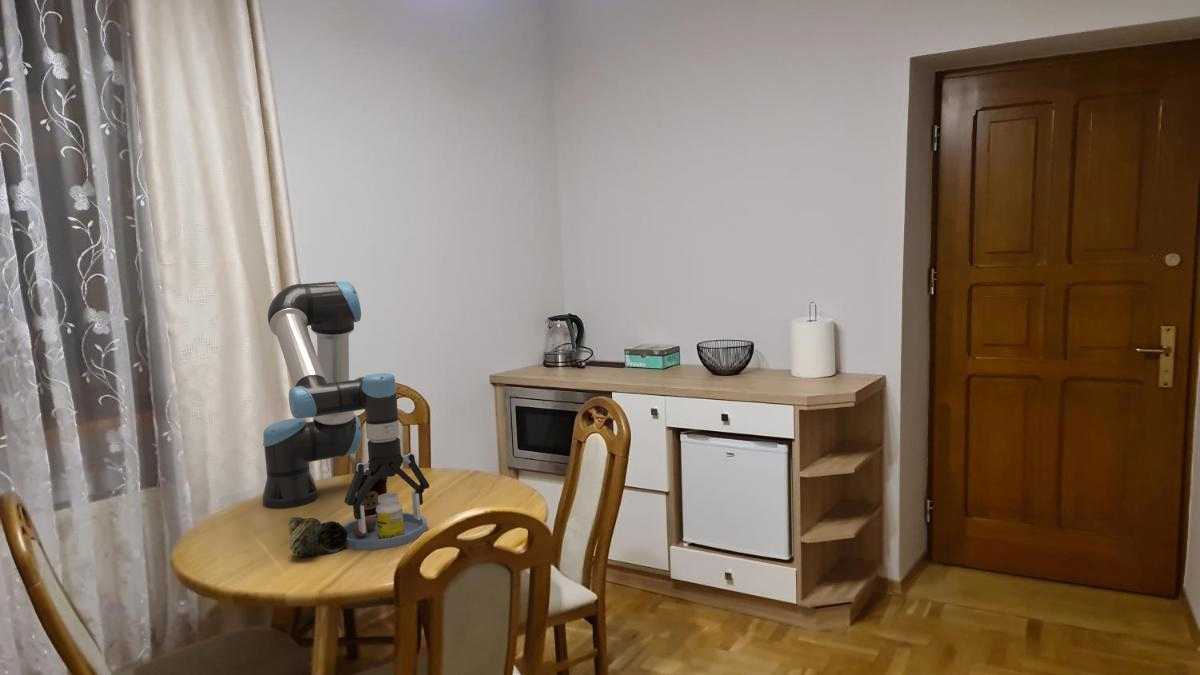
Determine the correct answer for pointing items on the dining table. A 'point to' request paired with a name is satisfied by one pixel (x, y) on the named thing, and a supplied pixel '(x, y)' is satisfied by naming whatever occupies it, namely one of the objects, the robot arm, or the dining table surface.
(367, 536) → the ring tray
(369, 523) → the walnut bead
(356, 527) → the walnut bead
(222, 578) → the dining table surface
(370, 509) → the coffee cup
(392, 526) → the pill bottle
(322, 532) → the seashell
